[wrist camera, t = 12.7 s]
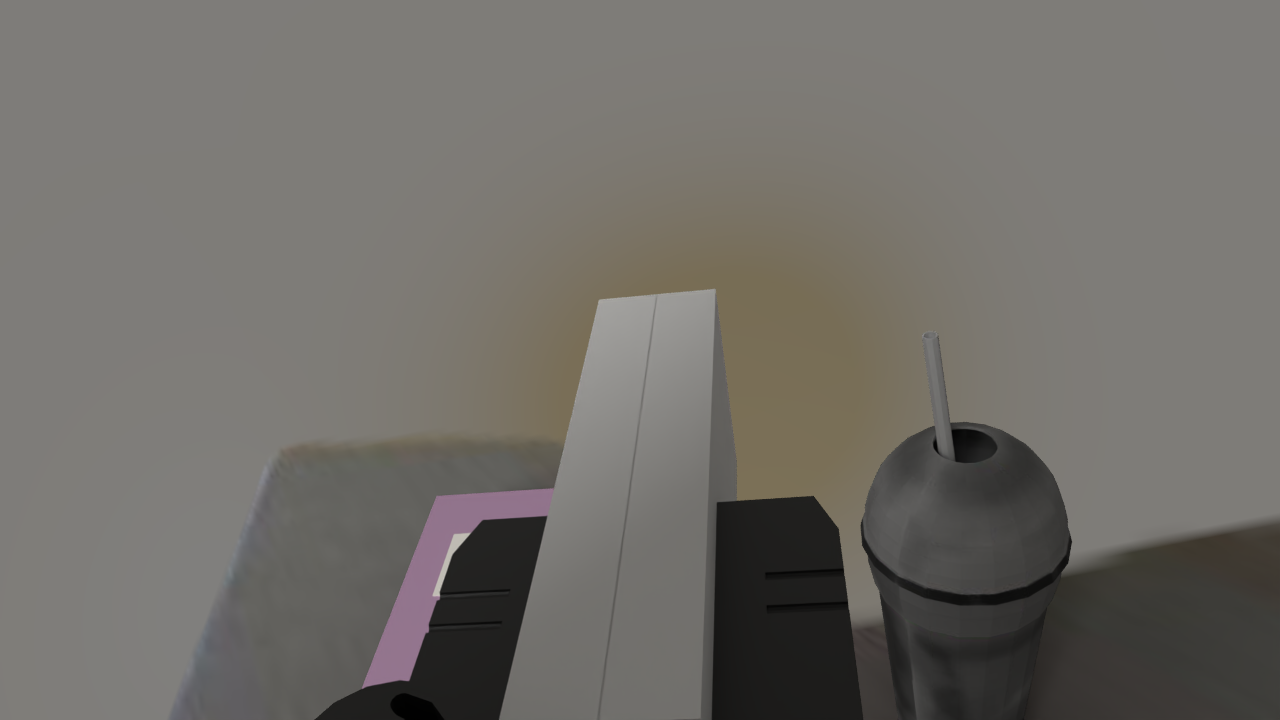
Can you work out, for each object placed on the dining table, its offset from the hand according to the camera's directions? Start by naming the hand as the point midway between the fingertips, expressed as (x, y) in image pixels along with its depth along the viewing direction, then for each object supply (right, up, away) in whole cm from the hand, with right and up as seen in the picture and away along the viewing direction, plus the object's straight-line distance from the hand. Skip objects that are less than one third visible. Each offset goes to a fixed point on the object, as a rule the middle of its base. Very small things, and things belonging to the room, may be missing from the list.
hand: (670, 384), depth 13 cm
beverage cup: (+13, -16, +29) cm, 36 cm away
